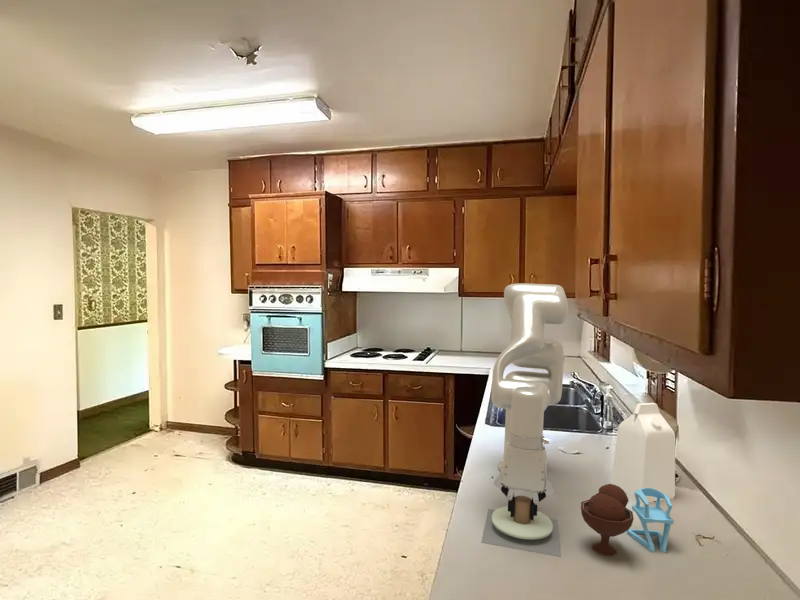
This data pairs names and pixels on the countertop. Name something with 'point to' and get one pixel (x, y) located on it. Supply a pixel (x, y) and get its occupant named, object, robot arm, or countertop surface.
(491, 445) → the countertop surface
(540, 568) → the countertop surface
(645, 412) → the milk
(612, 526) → the ice cream bowl
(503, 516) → the lid
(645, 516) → the chair
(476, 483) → the countertop surface
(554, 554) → the mat
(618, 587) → the countertop surface
